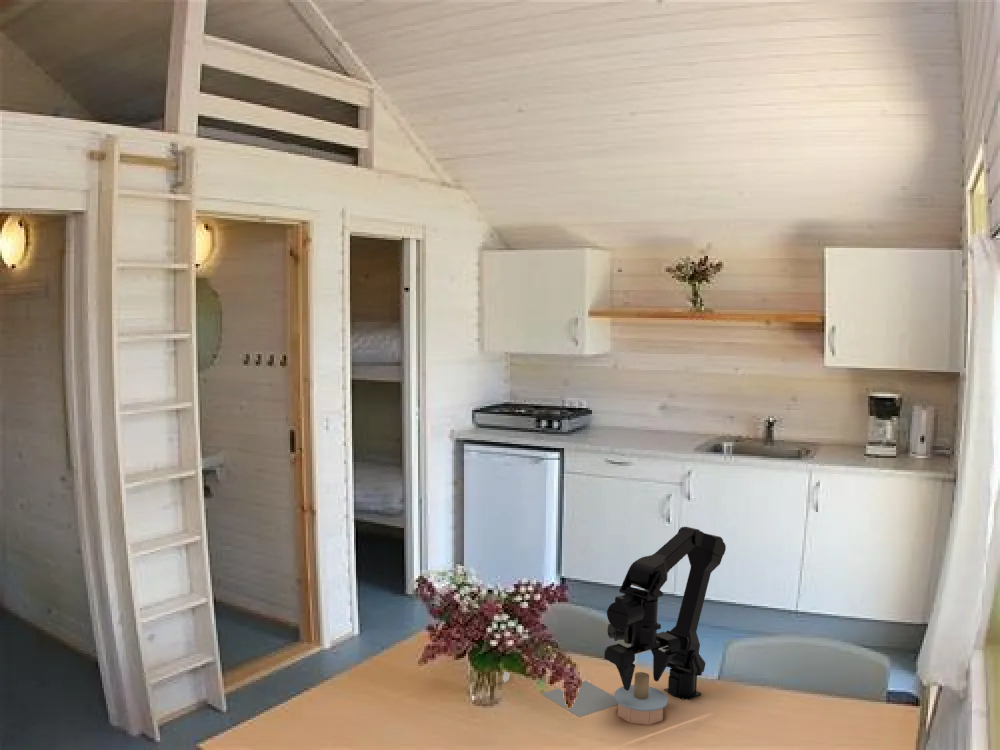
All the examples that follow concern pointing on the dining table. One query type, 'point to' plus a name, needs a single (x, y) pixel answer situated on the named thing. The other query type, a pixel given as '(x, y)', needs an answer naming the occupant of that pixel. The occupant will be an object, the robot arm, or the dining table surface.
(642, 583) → the robot arm
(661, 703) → the lid
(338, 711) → the dining table surface
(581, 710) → the mat
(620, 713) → the bowl
